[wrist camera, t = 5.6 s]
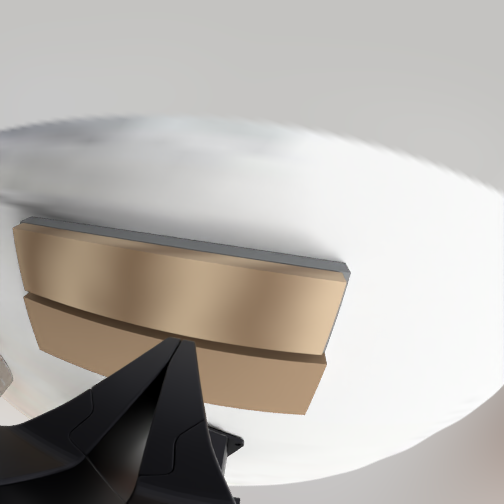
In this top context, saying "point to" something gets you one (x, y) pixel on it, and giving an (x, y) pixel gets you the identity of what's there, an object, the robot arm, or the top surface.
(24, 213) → the top surface
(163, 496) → the robot arm
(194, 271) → the plank
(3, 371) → the thermos bottle
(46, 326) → the floor panel
